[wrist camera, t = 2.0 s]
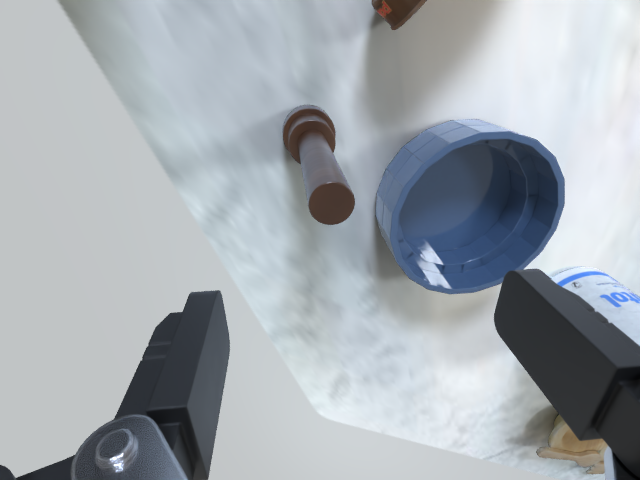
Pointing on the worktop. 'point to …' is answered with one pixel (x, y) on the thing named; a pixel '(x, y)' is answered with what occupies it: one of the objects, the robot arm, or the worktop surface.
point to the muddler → (318, 163)
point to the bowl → (469, 205)
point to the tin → (397, 10)
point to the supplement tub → (605, 297)
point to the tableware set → (574, 448)
